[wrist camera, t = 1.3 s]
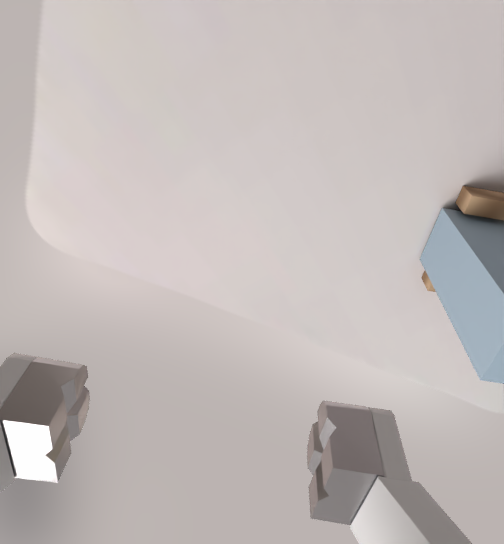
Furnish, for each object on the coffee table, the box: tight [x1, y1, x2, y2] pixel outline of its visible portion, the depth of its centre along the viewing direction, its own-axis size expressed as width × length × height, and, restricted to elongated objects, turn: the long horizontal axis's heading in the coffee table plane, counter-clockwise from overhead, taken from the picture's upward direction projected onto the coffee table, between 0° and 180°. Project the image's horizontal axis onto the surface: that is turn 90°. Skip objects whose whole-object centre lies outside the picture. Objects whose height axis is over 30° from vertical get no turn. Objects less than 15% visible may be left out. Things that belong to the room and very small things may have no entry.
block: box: [420, 208, 504, 384], centre depth 31 cm, size 5×5×14 cm
